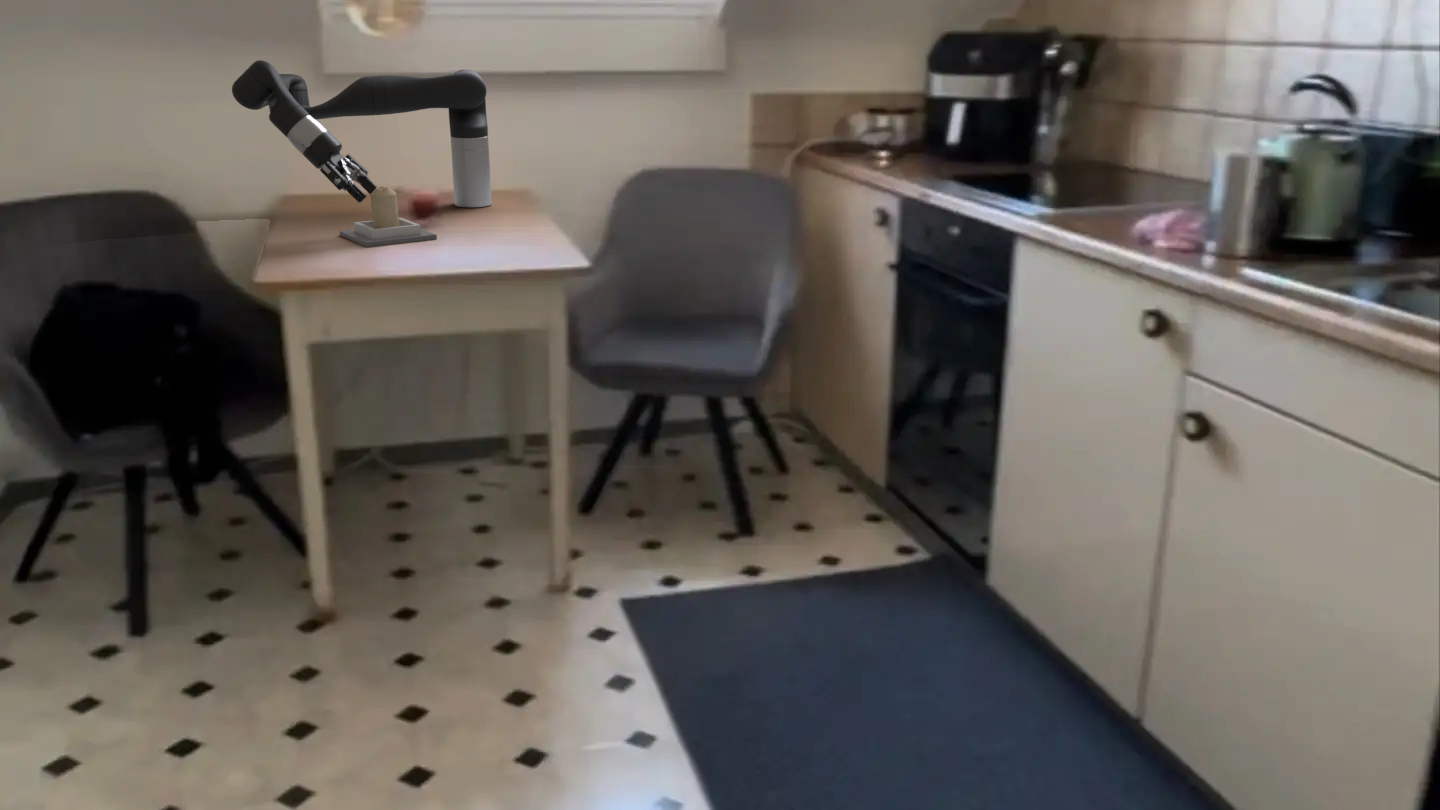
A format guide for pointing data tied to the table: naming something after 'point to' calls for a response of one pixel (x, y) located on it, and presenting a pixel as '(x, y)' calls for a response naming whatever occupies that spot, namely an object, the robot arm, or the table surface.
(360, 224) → the candle tray
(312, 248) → the table surface
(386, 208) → the candle
